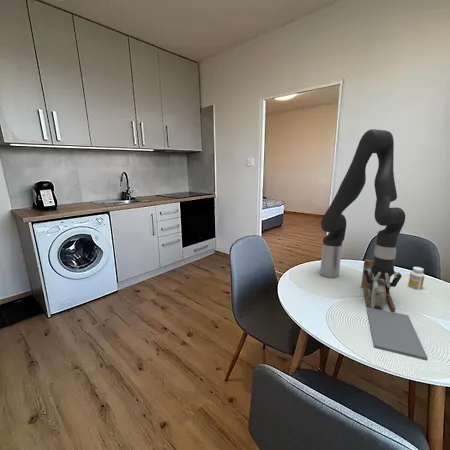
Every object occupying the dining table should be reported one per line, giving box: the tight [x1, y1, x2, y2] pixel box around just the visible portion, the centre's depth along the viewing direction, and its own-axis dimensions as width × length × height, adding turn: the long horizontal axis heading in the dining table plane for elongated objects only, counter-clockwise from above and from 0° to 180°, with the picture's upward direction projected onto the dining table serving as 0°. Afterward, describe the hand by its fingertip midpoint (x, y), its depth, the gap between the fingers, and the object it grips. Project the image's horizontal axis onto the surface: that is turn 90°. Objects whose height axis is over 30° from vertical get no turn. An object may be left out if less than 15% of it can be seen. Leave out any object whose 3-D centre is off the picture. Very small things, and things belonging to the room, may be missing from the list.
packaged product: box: [369, 274, 387, 309], centre depth 108 cm, size 18×5×10 cm, turn 151°
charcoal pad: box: [366, 307, 428, 361], centre depth 89 cm, size 14×24×1 cm, turn 156°
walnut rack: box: [360, 259, 397, 313], centre depth 109 cm, size 11×20×14 cm, turn 156°
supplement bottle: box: [407, 266, 425, 291], centre depth 119 cm, size 5×5×10 cm
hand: (379, 293), depth 108 cm, fingers closed on packaged product, 4 cm apart
